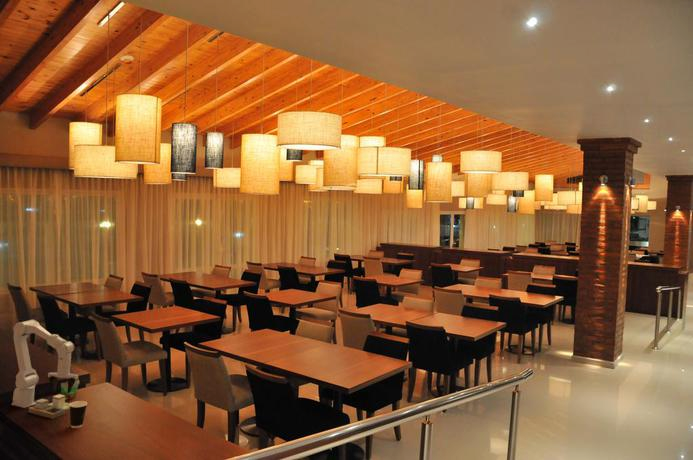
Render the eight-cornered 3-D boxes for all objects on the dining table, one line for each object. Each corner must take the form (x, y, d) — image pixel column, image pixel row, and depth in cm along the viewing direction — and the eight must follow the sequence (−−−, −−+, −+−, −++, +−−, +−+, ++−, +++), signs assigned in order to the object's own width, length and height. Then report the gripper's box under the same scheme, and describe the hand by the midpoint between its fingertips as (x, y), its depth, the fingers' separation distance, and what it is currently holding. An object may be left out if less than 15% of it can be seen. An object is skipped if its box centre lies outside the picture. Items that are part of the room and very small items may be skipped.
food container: (70, 402, 282) (72, 384, 281) (59, 401, 282) (60, 383, 282) (82, 395, 294) (84, 377, 294) (71, 394, 294) (73, 376, 294)
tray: (41, 408, 270) (42, 406, 270) (57, 403, 279) (57, 400, 279) (58, 413, 266) (59, 410, 266) (74, 407, 275) (74, 404, 275)
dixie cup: (86, 428, 252) (88, 405, 252) (68, 430, 248) (70, 407, 248) (84, 421, 259) (86, 400, 259) (66, 424, 254) (68, 401, 254)
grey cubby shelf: (28, 413, 263) (28, 407, 263) (42, 408, 271) (42, 402, 271) (52, 419, 258) (52, 413, 258) (65, 414, 266) (66, 408, 266)
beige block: (34, 412, 265) (35, 400, 265) (41, 410, 269) (42, 398, 268) (40, 414, 263) (41, 402, 263) (47, 411, 267) (48, 400, 267)
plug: (51, 407, 271) (52, 396, 271) (58, 405, 275) (59, 394, 275) (57, 409, 270) (58, 398, 270) (64, 407, 274) (65, 395, 274)
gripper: (45, 366, 266) (43, 392, 266) (74, 369, 266) (72, 395, 266) (53, 362, 273) (50, 388, 273) (81, 365, 273) (78, 390, 273)
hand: (61, 391), depth 270 cm, fingers open, 7 cm apart
